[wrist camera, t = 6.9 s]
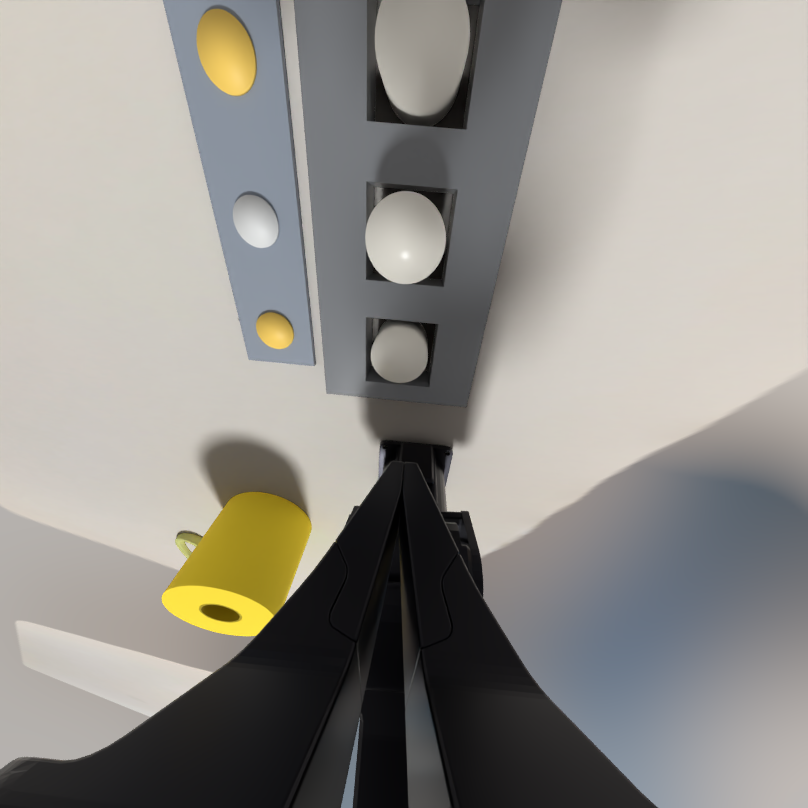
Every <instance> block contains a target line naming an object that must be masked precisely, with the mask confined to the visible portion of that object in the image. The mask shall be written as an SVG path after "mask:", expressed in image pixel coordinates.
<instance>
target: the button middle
mask: <svg viewBox="0 0 808 808" xmlns="http://www.w3.org/2000/svg"><path fill="white" fill-rule="evenodd" d="M365 242H366V249H367V253H368V256H369V258H370V261H371V262H372V264H373V266H374V267H375V269H376V270H377V271H378V272H379V273H380V274H381V275H382V276H383V277H385V278H386V279H388V280H390V281H392V282H395V283H399V284H413V283H416V282H419V281H421V280H423V279H425V278H426V277H428V276H429V275H430V274H431V273H432V272H433V271H434V270H435V269H436V267H437V266H438V264H439V263H440V261H441V259H442V256H443V253H444V250H445V244H446V231H445V226H444V222H443V219H442V217H441V214H440V213H439V211H438V209H437V208H436V206H435V205H434V204H433V203H432V202H431V201H430V200H429V199H427V198H426V197H425V196H423V195H421V194H419V193H416V192H411V191H400V192H396V193H393V194H390V195H388V196H387V197H385V198H384V199H382V200H381V201H380V202H379V203H378V204H377V205H376V207H375V208H374V209H373V211H372V213H371V215H370V217H369V219H368V223H367V226H366V233H365Z"/></svg>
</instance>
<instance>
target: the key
mask: <svg viewBox="0 0 808 808" xmlns="http://www.w3.org/2000/svg"><path fill="white" fill-rule="evenodd" d="M201 539H202V537H200V536H198V535H195V534H191V533H181V534H179V535H178V536H177V538H176V540H175V543H176V545H177V547H178V548H179V550H180V551H181V552H182V553H183V554H184V555H185V556H186V558H187V559H188V558H189V556H190V555H191V554H192V552H191V551H190V550H189V549H188V548H187V546H186V544H185V542H188V543H190V544H192V545H194V546H195V547H196V546H197V545H198V544H199V542H200V541H201Z"/></svg>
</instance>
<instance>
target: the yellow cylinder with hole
mask: <svg viewBox="0 0 808 808" xmlns="http://www.w3.org/2000/svg"><path fill="white" fill-rule="evenodd" d="M311 529H312V527H311V522H310V520H309V518H308V516H307V515H306V514H305V512H304V511H303V510H302V509H300V508H299V507H298V506H297V505H295V504H294V503H292V502H290V501H288V500H286V499H284V498H282V497H279V496H276V495H273V494H269V493H263V492H246V493H241V494H238V495H236V496H234V497H232V498H231V499H230V500H229V501H228V502H227V504H226V505H225V507H224V508H223V510H222V511H221V512H220V514H219V515H218V517H217V518H216V520H215V521H214V522H213V524H212V525H211V527H210V528H209V529H208V531H207V532H206V534H205V535H204V537H203V538H202V539H201V541H200V542H199V544H198V545H197V546H196V548H195V549H194V551H193V552H192V554H191V555H190V556H189V558H188V559H187V561H186V562H185V564H184V565H183V566H182V568H181V569H180V571H179V572H178V573H177V575H176V576H175V578H174V579H173V581H172V582H171V583H170V585H169V586H168V588H167V589H166V591H165V592H164V593H163V595H162V602H163V604H164V606H165V607H166V608H167V609H168V610H169V611H170V612H171V613H172V614H174V615H175V616H177V617H178V618H180V619H182V620H184V621H186V622H188V623H190V624H192V625H195V626H197V627H200V628H203V629H206V630H209V631H213V632H217V633H222V634H228V635H235V636H256V635H257V634H258V633H259V632H260V631H261V630H262V629H263V628H264V627H265V625H266V624H267V623H268V622H269V621H270V620H271V619H272V617H273V616H274V615H275V614H276V613H277V612H278V611H279V610H280V608H281V607H282V606H283V605H284V603H285V601H286V598H287V595H288V592H289V590H290V587H291V584H292V582H293V579H294V576H295V574H296V571H297V568H298V565H299V563H300V560H301V557H302V555H303V552H304V549H305V546H306V544H307V541H308V538H309V536H310V533H311Z"/></svg>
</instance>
